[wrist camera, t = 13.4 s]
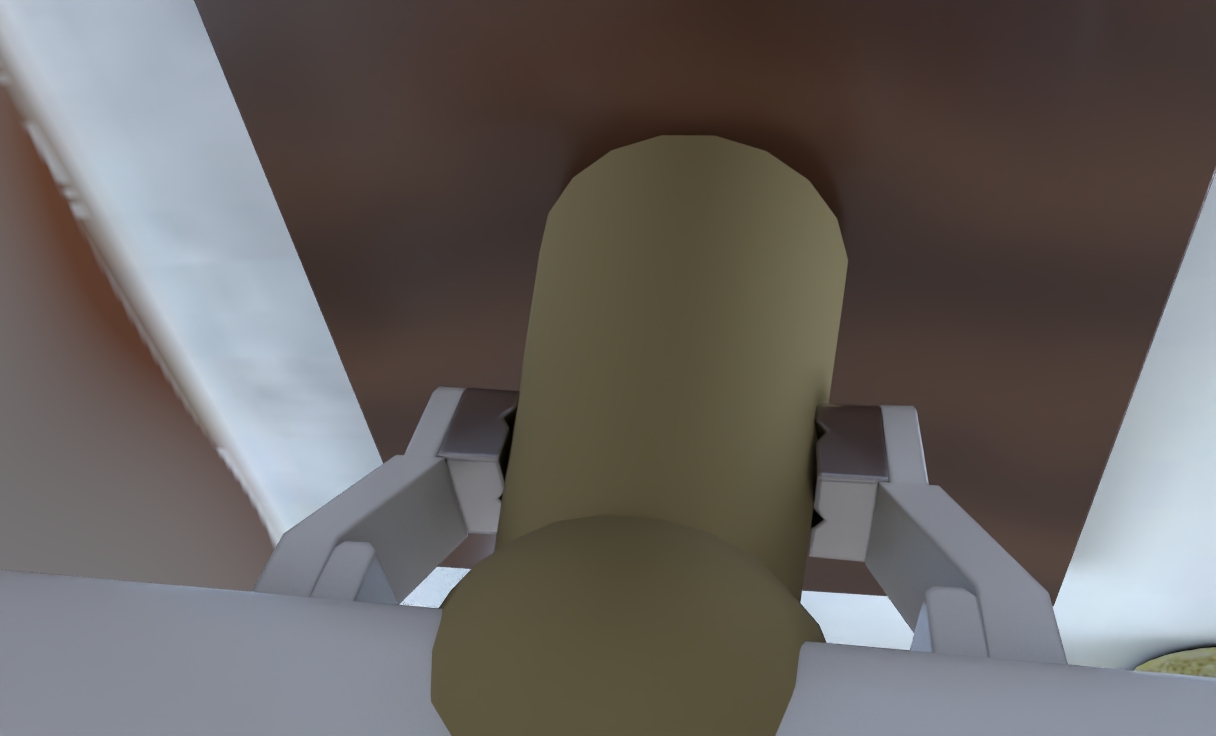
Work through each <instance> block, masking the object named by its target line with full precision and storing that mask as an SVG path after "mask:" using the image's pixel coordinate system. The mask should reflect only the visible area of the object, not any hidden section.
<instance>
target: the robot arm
mask: <svg viewBox="0 0 1216 736" xmlns="http://www.w3.org/2000/svg"><path fill="white" fill-rule="evenodd" d="M519 395H520V391H513V390H497V389H482V388H456V387H443V386H439V387H438V388H437V389H436V390H435V391H434V392H433V393H432V395H431V397H430V400H429V402H428V404H427V406H426V408H425V411H424V413H423V415H422V417H421V419H420V421H419V424H418V426H417V428H416V430H415V432H414V434H413V437H412V439H411V441H410V443H409V445H408V448H407V450H406V452H405V454H404V455H395V456H394V457H392V458H391V459H389V460H388V461H386V462H385V463H384V464H382V465H381V466H379V467H378V468H377V469H375V470H374V471H372V472H371V473H369V474H368V475H367V476H365V477H364V478H362V479H361V480H359V481H358V482H357V483H355V484H354V485H352V486H351V487H349V488H348V489H347V490H345V491H344V492H342V493H341V494H340V495H338V496H337V497H335V498H334V499H332V500H331V501H330V502H328V503H327V504H325V505H324V506H322V507H321V508H320V509H318V510H317V511H315V512H314V513H312V514H311V515H310V516H308V517H307V518H305V519H304V520H303V521H301V522H300V523H298V524H297V525H295V526H294V527H293V528H291V529H290V530H288V531H287V532H285V533H284V534H283V536H282V537H281V539H280V541H279V543H278V545H277V546H276V548H275V550H274V552H273V554H272V556H271V558H270V559H269V561H268V563H267V565H266V566H265V568H264V570H263V572H262V574H261V575H260V578H259V579H258V581H257V583H256V584H255V586H254V588H253V590H252V592H248V591H236V590H225V589H214V588H202V587H190V586H179V585H169V584H158V583H145V582H135V581H123V580H111V579H101V578H89V577H79V576H67V575H55V574H45V573H33V572H22V571H10V570H0V736H451V734H450V732H449V731H448V729H447V728H446V726H445V724H444V723H443V721H442V719H441V718H440V716H439V714H438V713H437V711H436V709H435V708H434V706H433V704H432V703H431V669H432V649H433V646H434V642H435V639H436V635H437V632H438V628H439V625H440V621H441V618H442V610H443V609H439V608H428V607H416V606H405V605H399V604H400V603H401V602H402V601H403V600H404V599H405V598H406V597H407V596H408V595H409V594H410V593H411V592H412V591H413V590H414V589H415V588H416V587H417V586H418V585H419V584H420V583H421V582H422V581H423V580H424V579H425V578H426V577H427V576H428V575H429V574H430V573H431V572H432V571H433V570H434V569H435V568H436V567H437V566H438V565H439V564H440V563H441V562H442V561H443V560H444V559H445V558H446V557H447V556H448V555H449V554H450V553H451V552H452V551H453V550H454V549H455V548H456V547H457V546H458V545H459V544H460V543H461V542H462V541H463V540H464V539H465V538H466V537H467V536H468V534H467V533H475V534H497V529H498V522H499V515H500V509H501V502H502V496H503V489H504V483H505V476H506V470H507V464H508V459H509V453H510V447H511V442H512V437H511V436H512V431H513V426H514V422H515V417H516V412H517V407H518V402H519ZM815 427H816V432H817V437H818V441H817V442H816V447H815V470H814V508H813V515H812V522H811V530H810V537H809V557H820V558H830V559H840V560H850V561H861V562H865V565H866V566H867V568H868V569H869V571H870V572H871V573H872V575H873V576H874V578H875V579H876V581H877V582H878V583H879V585H880V586H881V588H882V589H883V590H884V592H885V593H886V595H887V596H888V597H889V599H890V600H891V602H892V603H893V604H894V606H895V607H896V609H897V610H898V611H899V613H900V614H901V616H902V617H903V618H904V620H905V621H906V623H907V624H908V625H909V627H910V628H911V630H912V631H913V632H914V637H913V641H912V644H911V648H910V650H899V649H888V648H877V647H866V646H854V645H843V644H832V643H821V642H810V641H806V642H804V644H803V645H802V646H801V649H800V653H799V661H798V669H797V677H796V685H795V689H794V691H793V694H792V697H791V700H790V702H789V704H788V707H787V709H786V712H785V714H784V716H783V719H782V721H781V724H780V726H779V728H778V731H777V733H776V736H1216V678H1214V677H1202V676H1191V675H1180V674H1169V673H1157V672H1146V671H1135V670H1124V669H1112V668H1101V667H1090V666H1079V665H1068V664H1067V660H1066V656H1065V652H1064V649H1063V645H1062V641H1061V637H1060V634H1059V630H1058V626H1057V622H1056V619H1055V615H1054V611H1053V607H1052V604H1051V600H1050V596H1049V593H1048V592H1047V591H1046V590H1045V589H1044V588H1043V587H1042V586H1041V585H1040V584H1039V583H1038V582H1037V581H1036V580H1035V579H1034V578H1033V577H1032V576H1031V575H1030V574H1029V573H1028V572H1027V571H1026V570H1025V569H1024V568H1023V567H1022V566H1021V565H1020V564H1019V563H1018V562H1017V561H1016V560H1015V559H1014V558H1013V557H1012V556H1010V555H1009V554H1008V553H1007V552H1006V551H1005V550H1004V549H1003V548H1002V547H1001V546H1000V545H999V544H998V543H997V542H996V541H995V540H994V539H993V538H992V537H991V536H990V535H989V534H988V533H987V532H986V531H985V530H984V529H983V528H982V527H981V526H980V525H979V524H978V523H977V522H976V521H975V520H974V519H973V518H972V517H971V516H970V515H968V514H967V513H966V512H965V511H964V510H963V509H962V508H961V507H960V506H959V505H958V504H957V503H956V502H955V501H954V500H953V499H952V498H951V497H950V496H949V495H948V494H947V493H946V492H945V491H944V490H943V489H942V488H941V487H940V486H937V485H929V482H928V476H927V470H926V464H925V458H924V452H923V446H922V440H921V434H920V428H919V422H918V416H917V410H916V409H915V408H914V406H899V405H880V406H878V405H856V404H826V403H820V404H819V405H818V406H816V411H815Z"/></svg>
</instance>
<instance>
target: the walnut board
mask: <svg viewBox="0 0 1216 736" xmlns="http://www.w3.org/2000/svg"><path fill="white" fill-rule="evenodd" d="M194 1H195V4H196V6H197V9H198V11H199V14H200V16H201V19H202V21H203V23H204V26H205V28H206V31H207V33H208V36H209V38H210V41H211V43H212V45H213V48H214V50H215V53H216V55H217V58H218V60H219V63H220V65H221V67H222V70H223V72H224V75H225V77H226V80H227V82H228V85H229V87H230V89H231V92H232V94H233V97H234V99H235V102H236V104H237V107H238V109H239V112H240V114H241V116H242V119H243V121H244V124H245V126H246V129H247V131H248V134H249V136H250V138H251V141H252V143H253V146H254V148H255V151H256V153H257V156H258V158H259V160H260V163H261V165H262V168H263V170H264V173H265V175H266V178H267V180H268V182H269V185H270V187H271V190H272V192H273V195H274V197H275V200H276V202H277V204H278V207H279V209H280V212H281V214H282V217H283V219H284V222H285V224H286V226H287V229H288V231H289V234H290V236H291V239H292V241H293V244H294V246H295V249H296V251H297V253H298V256H299V258H300V261H301V263H302V266H303V268H304V271H305V273H306V275H307V278H308V280H309V283H310V285H311V288H312V290H313V293H314V295H315V297H316V300H317V302H318V305H319V307H320V310H321V312H322V315H323V317H324V319H325V322H326V324H327V327H328V329H329V332H330V334H331V337H332V339H333V341H334V344H335V346H336V349H337V351H338V354H339V356H340V359H341V361H342V364H343V366H344V368H345V371H346V373H347V376H348V378H349V381H350V383H351V386H352V388H353V390H354V393H355V395H356V398H357V400H358V403H359V405H360V408H361V410H362V412H363V415H364V417H365V420H366V422H367V425H368V427H369V430H370V432H371V434H372V437H373V439H374V442H375V444H376V447H377V449H378V452H379V454H380V456H381V459H382V461H383V464H384V463H385V462H386V461H388V460H389V459H391V458H392V457H394V456H395V455H404V454H405V452H406V450H407V448H408V445H409V443H410V441H411V439H412V437H413V434H414V432H415V430H416V428H417V426H418V424H419V421H420V419H421V417H422V415H423V413H424V411H425V408H426V406H427V404H428V402H429V400H430V397H431V395H432V393H433V392H434V391H435V390H436V389H437V388H438V387H439V386H443V387H456V388H482V389H497V390H513V391H518V390H519V384H520V377H521V371H522V364H523V358H524V351H525V344H526V338H527V331H528V325H529V318H530V312H531V305H532V298H533V292H534V285H535V279H536V272H537V266H538V259H539V252H540V248H541V244H542V239H543V235H544V231H545V226H546V222H547V217H548V213H549V212H550V210H551V209H552V207H553V206H554V205H555V203H556V202H557V200H558V199H559V197H560V196H561V194H562V193H563V191H564V190H565V188H566V187H567V186H568V184H569V183H570V181H571V180H572V178H573V177H575V176H576V175H577V174H579V173H580V172H582V171H583V170H585V169H586V168H587V167H589V166H590V165H592V164H593V163H594V162H596V161H597V160H599V159H600V158H601V157H603V156H604V155H606V154H607V153H609V152H610V151H611V150H614V149H618V148H621V147H624V146H628V145H631V144H634V143H637V142H641V141H644V140H647V139H651V138H654V137H657V136H660V135H705V136H718V137H721V138H725V139H728V140H731V141H735V142H738V143H741V144H744V145H748V146H751V147H754V148H758V149H761V150H764V151H767V152H768V153H770V154H771V155H773V156H774V157H776V158H777V159H779V160H780V161H782V162H783V163H785V164H786V165H787V166H789V167H790V168H792V169H793V170H795V171H796V172H798V173H799V174H801V175H802V176H803V177H805V178H806V179H808V180H809V181H810V182H811V184H812V185H813V186H814V188H815V189H816V190H817V192H818V193H819V195H820V196H821V197H822V199H823V200H824V201H825V203H826V204H827V205H828V207H829V208H830V210H831V211H832V212H833V214H834V215H835V216H836V218H837V220H838V224H839V228H840V231H841V235H842V239H843V243H844V246H845V250H846V254H847V258H848V266H847V273H846V281H845V288H844V296H843V304H842V311H841V318H840V325H839V332H838V339H837V346H836V353H835V360H834V367H833V374H832V381H831V388H830V396H829V403H828V404H856V405H878V406H880V405H899V406H914V408H915V409H916V410H917V416H918V422H919V428H920V434H921V440H922V446H923V452H924V458H925V464H926V470H927V476H928V482H929V485H937V486H940V487H941V488H942V489H943V490H944V491H945V492H946V493H947V494H948V495H949V496H950V497H951V498H952V499H953V500H954V501H955V502H956V503H957V504H958V505H959V506H960V507H961V508H962V509H963V510H964V511H965V512H966V513H967V514H968V515H970V516H971V517H972V518H973V519H974V520H975V521H976V522H977V523H978V524H979V525H980V526H981V527H982V528H983V529H984V530H985V531H986V532H987V533H988V534H989V535H990V536H991V537H992V538H993V539H994V540H995V541H996V542H997V543H998V544H999V545H1000V546H1001V547H1002V548H1003V549H1004V550H1005V551H1006V552H1007V553H1008V554H1009V555H1010V556H1012V557H1013V558H1014V559H1015V560H1016V561H1017V562H1018V563H1019V564H1020V565H1021V566H1022V567H1023V568H1024V569H1025V570H1026V571H1027V572H1028V573H1029V574H1030V575H1031V576H1032V577H1033V578H1034V579H1035V580H1036V581H1037V582H1038V583H1039V584H1040V585H1041V586H1042V587H1043V588H1044V589H1045V590H1046V591H1047V592H1048V593H1049V596H1050V600H1051V604H1052V607H1053V606H1054V604H1055V601H1056V598H1057V596H1058V593H1059V590H1060V588H1061V585H1062V582H1063V580H1064V577H1065V574H1066V572H1067V569H1068V566H1069V563H1070V561H1071V558H1072V555H1073V553H1074V550H1075V547H1076V545H1077V542H1078V539H1079V537H1080V534H1081V531H1082V529H1083V526H1084V523H1085V521H1086V518H1087V515H1088V513H1089V510H1090V507H1091V505H1092V502H1093V499H1094V497H1095V494H1096V491H1097V489H1098V486H1099V483H1100V481H1101V478H1102V475H1103V472H1104V470H1105V467H1106V464H1107V462H1108V459H1109V456H1110V454H1111V451H1112V448H1113V446H1114V443H1115V440H1116V438H1117V435H1118V432H1119V430H1120V427H1121V424H1122V422H1123V419H1124V416H1125V414H1126V411H1127V408H1128V406H1129V403H1130V400H1131V398H1132V395H1133V392H1134V390H1135V387H1136V384H1137V382H1138V379H1139V376H1140V373H1141V371H1142V368H1143V365H1144V363H1145V360H1146V357H1147V355H1148V352H1149V349H1150V347H1151V344H1152V341H1153V339H1154V336H1155V333H1156V331H1157V328H1158V325H1159V323H1160V320H1161V317H1162V315H1163V312H1164V309H1165V307H1166V304H1167V301H1168V299H1169V296H1170V293H1171V291H1172V288H1173V285H1174V283H1175V280H1176V277H1177V274H1178V272H1179V269H1180V266H1181V264H1182V261H1183V258H1184V256H1185V253H1186V250H1187V248H1188V245H1189V242H1190V240H1191V237H1192V234H1193V232H1194V229H1195V226H1196V224H1197V221H1198V218H1199V216H1200V213H1201V210H1202V208H1203V205H1204V202H1205V200H1206V197H1207V194H1208V192H1209V189H1210V186H1211V183H1212V181H1213V178H1214V175H1215V173H1216V0H194ZM467 534H468V536H467V537H466V538H465V539H464V540H463V541H462V542H461V543H460V544H459V545H458V546H457V547H456V548H455V549H454V550H453V551H452V552H451V553H450V554H449V555H448V556H447V557H446V558H445V559H444V560H443V561H442V562H441V563H440V564H439V565H438V566H437V567H451V568H466V569H472V568H473V567H474V566H475V565H476V564H477V563H478V562H479V561H481V560H483V559H484V558H486V557H488V556H489V555H491V554H492V553H494V548H495V542H496V535H497V534H475V533H467ZM802 591H816V592H832V593H847V594H862V595H877V596H887V595H886V593H885V592H884V590H883V589H882V588H881V586H880V585H879V583H878V582H877V581H876V579H875V578H874V576H873V575H872V573H871V572H870V571H869V569H868V568H867V566H866V565H865V562H861V561H850V560H840V559H830V558H820V557H809V544H808V551H807V558H806V565H805V573H804V580H803V587H802Z"/></svg>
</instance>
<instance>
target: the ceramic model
mask: <svg viewBox="0 0 1216 736" xmlns="http://www.w3.org/2000/svg"><path fill="white" fill-rule="evenodd" d="M1134 670H1135V671H1146V672H1157V673H1169V674H1180V675H1191V676H1202V677H1214V678H1216V647H1213V648H1200V649H1195V650H1188V651H1181V652H1176V653H1172V654H1168V655H1164V656H1161V657H1159V658H1156V659H1154V660H1149V661H1148V662H1146V663H1144V664H1141V665H1139V666H1137V667H1136V668H1135V669H1134Z"/></svg>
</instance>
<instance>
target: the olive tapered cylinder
mask: <svg viewBox="0 0 1216 736" xmlns="http://www.w3.org/2000/svg"><path fill="white" fill-rule="evenodd" d="M847 266H848V258H847V254H846V250H845V246H844V243H843V239H842V235H841V231H840V228H839V224H838V220H837V218H836V216H835V215H834V214H833V212H832V211H831V210H830V208H829V207H828V205H827V204H826V203H825V201H824V200H823V199H822V197H821V196H820V195H819V193H818V192H817V190H816V189H815V188H814V186H813V185H812V184H811V182H810V181H809V180H808V179H806V178H805V177H803V176H802V175H801V174H799V173H798V172H796V171H795V170H793V169H792V168H790V167H789V166H787V165H786V164H785V163H783V162H782V161H780V160H779V159H777V158H776V157H774V156H773V155H771V154H770V153H768V152H767V151H764V150H761V149H758V148H754V147H751V146H748V145H744V144H741V143H738V142H735V141H731V140H728V139H725V138H721V137H718V136H705V135H660V136H657V137H654V138H651V139H647V140H644V141H641V142H637V143H634V144H631V145H628V146H624V147H621V148H618V149H614V150H611V151H610V152H609V153H607V154H606V155H604V156H603V157H601V158H600V159H599V160H597V161H596V162H594V163H593V164H592V165H590V166H589V167H587V168H586V169H585V170H583V171H582V172H580V173H579V174H577V175H576V176H575V177H573V178H572V180H571V181H570V183H569V184H568V186H567V187H566V188H565V190H564V191H563V193H562V194H561V196H560V197H559V199H558V200H557V202H556V203H555V205H554V206H553V207H552V209H551V210H550V212H549V213H548V217H547V222H546V226H545V231H544V235H543V239H542V244H541V248H540V252H539V259H538V266H537V272H536V279H535V285H534V292H533V298H532V305H531V312H530V318H529V325H528V331H527V338H526V344H525V351H524V358H523V364H522V371H521V377H520V384H519V390H518V391H520V395H519V402H518V407H517V412H516V417H515V422H514V426H513V431H512V436H511V437H512V442H511V447H510V453H509V459H508V464H507V470H506V476H505V483H504V489H503V496H502V502H501V509H500V515H499V522H498V529H497V535H496V542H495V548H494V553H492V554H491V555H489V556H488V557H486V558H484V559H483V560H481V561H479V562H478V563H477V564H476V565H475V566H474V567H473V568H472V569H471V570H470V571H469V572H468V573H467V574H466V575H465V576H464V577H463V578H462V579H461V581H460V582H459V583H458V584H457V585H456V586H455V587H454V588H453V589H452V590H451V591H450V593H449V594H448V595H447V597H446V598H445V600H444V601H443V603H442V604H441V606H440V607H439V609H443V610H442V618H441V621H440V625H439V628H438V632H437V635H436V639H435V642H434V646H433V649H432V669H431V703H432V704H433V706H434V708H435V709H436V711H437V713H438V714H439V716H440V718H441V719H442V721H443V723H444V724H445V726H446V728H447V729H448V731H449V732H450V734H451V736H776V733H777V731H778V728H779V726H780V724H781V721H782V719H783V716H784V714H785V712H786V709H787V707H788V704H789V702H790V700H791V697H792V694H793V691H794V689H795V685H796V677H797V669H798V661H799V653H800V649H801V646H802V645H803V644H804V642H806V641H810V642H821V643H826V640H825V638H824V635H823V633H822V630H821V628H820V626H819V624H818V623H817V622H816V621H815V619H814V618H813V617H812V616H811V615H810V614H809V613H808V611H807V610H806V609H805V608H804V607H803V606H802V605H801V603H800V601H801V594H802V587H803V580H804V573H805V565H806V558H807V551H808V544H809V537H810V530H811V522H812V515H813V508H814V470H815V447H816V442H817V441H818V437H817V432H816V427H815V411H816V406H818V405H819V404H820V403H826V404H828V403H829V396H830V388H831V381H832V374H833V367H834V360H835V353H836V346H837V339H838V332H839V325H840V318H841V311H842V304H843V296H844V288H845V281H846V273H847Z"/></svg>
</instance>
